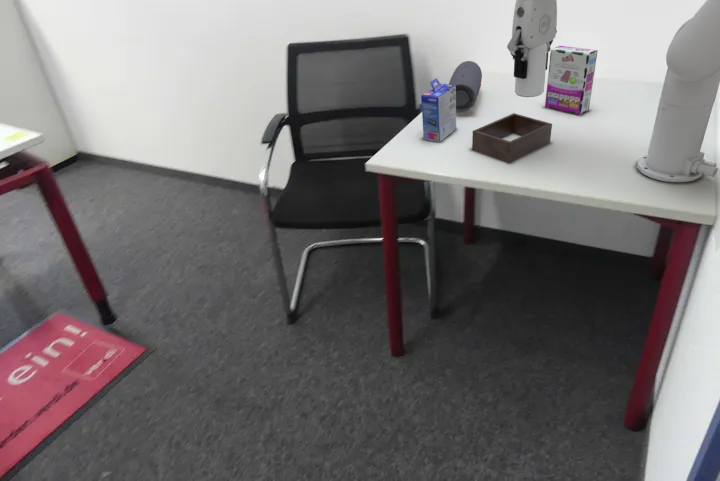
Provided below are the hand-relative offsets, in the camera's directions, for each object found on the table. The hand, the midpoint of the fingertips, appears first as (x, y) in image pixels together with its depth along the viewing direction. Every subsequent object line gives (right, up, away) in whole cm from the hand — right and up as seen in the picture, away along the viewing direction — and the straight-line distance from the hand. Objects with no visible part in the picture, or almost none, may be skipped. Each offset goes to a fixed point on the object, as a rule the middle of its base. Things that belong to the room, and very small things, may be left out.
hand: (530, 72), depth 122 cm
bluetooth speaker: (-7, +3, +40) cm, 41 cm away
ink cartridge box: (-18, -10, +22) cm, 30 cm away
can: (0, -4, +3) cm, 5 cm away
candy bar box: (+19, -1, +29) cm, 35 cm away
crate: (-1, -15, +11) cm, 19 cm away
